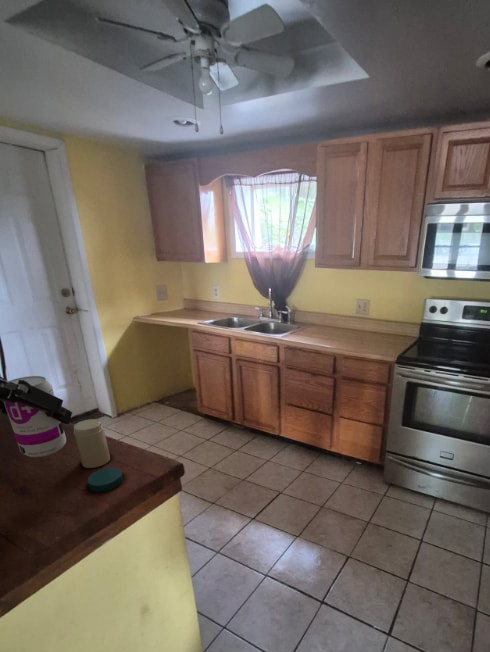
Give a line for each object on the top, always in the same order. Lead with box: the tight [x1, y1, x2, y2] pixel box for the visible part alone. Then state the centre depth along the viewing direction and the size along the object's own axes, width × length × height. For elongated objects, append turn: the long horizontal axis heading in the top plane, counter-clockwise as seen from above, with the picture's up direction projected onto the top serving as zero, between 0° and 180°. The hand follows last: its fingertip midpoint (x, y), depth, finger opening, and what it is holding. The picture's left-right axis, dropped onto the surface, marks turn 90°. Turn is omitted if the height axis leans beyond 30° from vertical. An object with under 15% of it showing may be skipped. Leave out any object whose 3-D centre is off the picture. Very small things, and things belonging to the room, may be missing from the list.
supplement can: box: [4, 375, 67, 458], centre depth 75 cm, size 8×8×15 cm
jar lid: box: [87, 467, 124, 493], centre depth 85 cm, size 7×7×2 cm
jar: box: [73, 418, 111, 469], centre depth 92 cm, size 6×6×10 cm
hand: (48, 417), depth 79 cm, fingers closed on supplement can, 8 cm apart
